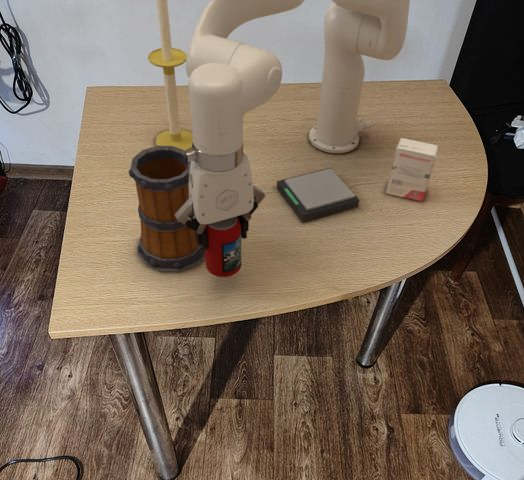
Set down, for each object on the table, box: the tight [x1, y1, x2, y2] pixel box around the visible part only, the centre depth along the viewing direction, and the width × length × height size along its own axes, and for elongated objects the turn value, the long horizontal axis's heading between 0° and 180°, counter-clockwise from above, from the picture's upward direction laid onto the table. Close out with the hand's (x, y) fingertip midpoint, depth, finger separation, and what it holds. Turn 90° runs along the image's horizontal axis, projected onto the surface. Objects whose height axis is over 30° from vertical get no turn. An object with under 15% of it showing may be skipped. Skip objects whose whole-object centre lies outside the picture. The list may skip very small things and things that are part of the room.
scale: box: [276, 167, 360, 223], centre depth 124 cm, size 14×13×3 cm
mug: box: [128, 145, 205, 273], centre depth 107 cm, size 19×14×20 cm
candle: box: [147, 0, 193, 152], centre depth 122 cm, size 10×10×38 cm
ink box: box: [385, 137, 439, 202], centre depth 123 cm, size 9×5×12 cm, turn 71°
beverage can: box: [204, 216, 242, 278], centre depth 100 cm, size 7×7×12 cm
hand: (222, 238), depth 99 cm, fingers closed on beverage can, 6 cm apart
